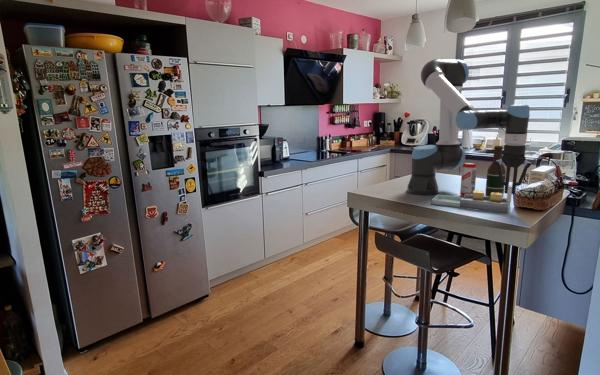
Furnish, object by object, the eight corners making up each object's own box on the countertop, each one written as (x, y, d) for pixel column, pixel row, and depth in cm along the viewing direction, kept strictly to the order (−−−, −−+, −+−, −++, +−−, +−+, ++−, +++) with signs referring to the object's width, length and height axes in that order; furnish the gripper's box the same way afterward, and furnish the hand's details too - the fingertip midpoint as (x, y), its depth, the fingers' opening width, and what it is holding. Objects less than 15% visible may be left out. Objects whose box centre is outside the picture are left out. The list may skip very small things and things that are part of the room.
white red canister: (468, 198, 170) (470, 164, 166) (457, 195, 175) (459, 163, 172) (477, 196, 173) (479, 163, 169) (465, 193, 178) (468, 161, 175)
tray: (430, 204, 162) (431, 199, 162) (437, 198, 171) (437, 194, 171) (459, 207, 155) (459, 203, 155) (464, 201, 165) (465, 197, 164)
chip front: (489, 203, 152) (490, 194, 151) (491, 201, 155) (491, 192, 154) (500, 204, 149) (501, 195, 149) (501, 202, 153) (502, 193, 152)
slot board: (459, 207, 156) (460, 199, 155) (464, 201, 164) (465, 193, 164) (507, 213, 146) (508, 204, 145) (510, 206, 154) (510, 198, 154)
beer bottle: (481, 194, 176) (485, 145, 170) (496, 194, 176) (501, 144, 171) (491, 198, 168) (495, 147, 163) (507, 197, 169) (512, 146, 163)
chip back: (472, 201, 155) (473, 192, 154) (471, 199, 159) (472, 190, 158) (483, 202, 154) (484, 193, 153) (482, 199, 157) (482, 190, 156)
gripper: (495, 144, 145) (489, 201, 150) (533, 146, 138) (526, 205, 143) (497, 142, 151) (492, 197, 156) (534, 144, 144) (527, 201, 149)
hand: (508, 201), depth 149 cm, fingers closed
